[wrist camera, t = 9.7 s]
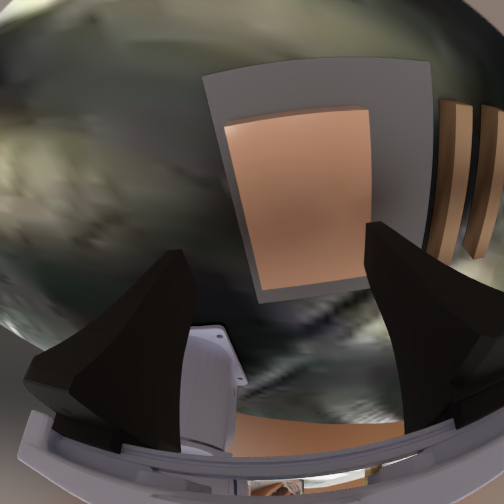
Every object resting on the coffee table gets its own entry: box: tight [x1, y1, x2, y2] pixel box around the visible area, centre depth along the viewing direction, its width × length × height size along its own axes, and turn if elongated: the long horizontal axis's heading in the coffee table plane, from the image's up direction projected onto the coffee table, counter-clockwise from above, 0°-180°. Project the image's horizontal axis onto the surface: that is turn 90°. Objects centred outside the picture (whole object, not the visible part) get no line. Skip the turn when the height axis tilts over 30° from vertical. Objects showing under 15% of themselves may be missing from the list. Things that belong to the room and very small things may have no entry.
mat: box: [202, 57, 433, 304], centre depth 14 cm, size 14×11×1 cm
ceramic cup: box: [363, 465, 382, 486], centre depth 74 cm, size 13×10×10 cm
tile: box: [224, 105, 372, 290], centre depth 13 cm, size 9×2×6 cm
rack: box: [426, 99, 504, 265], centre depth 12 cm, size 10×5×2 cm, turn 11°
